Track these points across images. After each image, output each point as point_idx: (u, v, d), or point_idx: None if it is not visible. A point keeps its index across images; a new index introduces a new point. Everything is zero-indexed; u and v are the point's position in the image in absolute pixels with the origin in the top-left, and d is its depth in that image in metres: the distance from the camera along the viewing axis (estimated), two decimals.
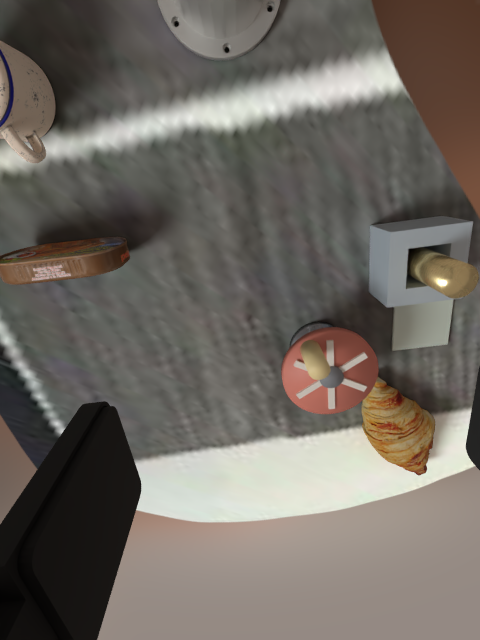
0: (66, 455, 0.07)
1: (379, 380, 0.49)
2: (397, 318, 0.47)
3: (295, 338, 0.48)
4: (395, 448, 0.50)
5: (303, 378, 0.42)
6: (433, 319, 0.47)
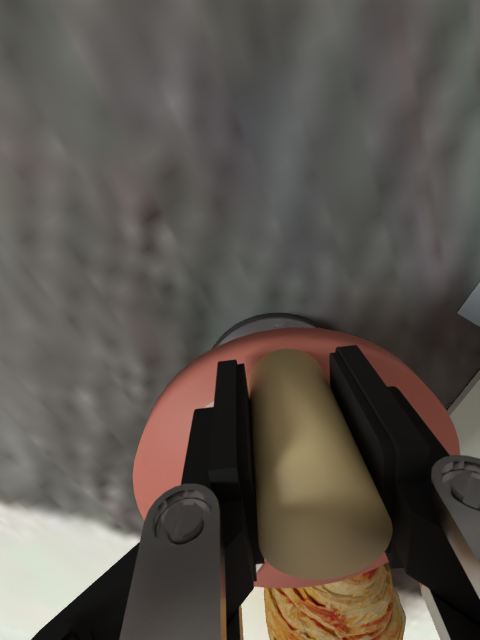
0: (232, 396, 0.08)
1: None
2: (468, 401, 0.20)
3: (239, 332, 0.18)
4: None
5: None
6: None
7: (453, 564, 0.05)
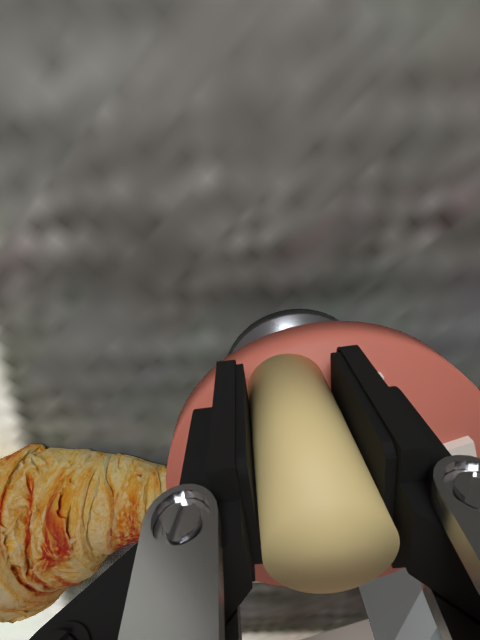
0: (231, 396, 0.08)
1: None
2: None
3: None
4: None
5: None
6: None
7: (455, 564, 0.05)
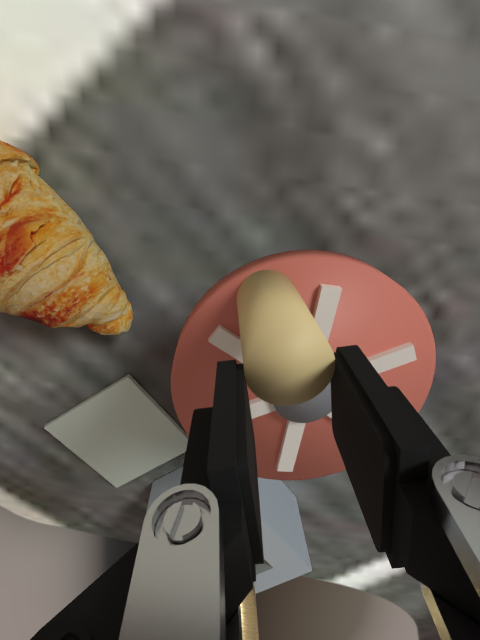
0: (231, 396, 0.08)
1: (113, 334, 0.20)
2: (168, 425, 0.25)
3: None
4: None
5: None
6: (108, 448, 0.26)
7: (454, 564, 0.05)
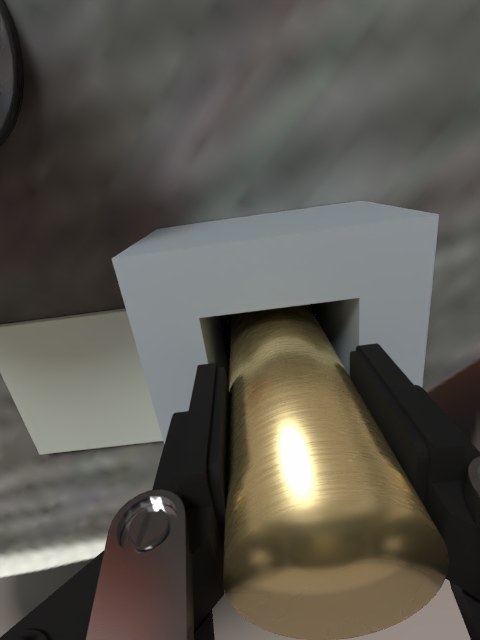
0: (208, 400, 0.08)
1: None
2: (84, 323, 0.16)
3: None
4: None
5: None
6: (99, 411, 0.18)
7: None
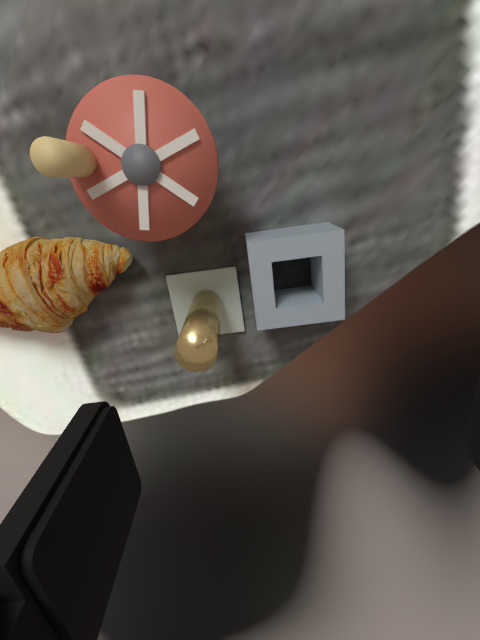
0: (66, 455, 0.07)
1: (128, 263, 0.35)
2: (210, 273, 0.38)
3: None
4: (16, 277, 0.32)
5: (123, 202, 0.28)
6: None
7: None
